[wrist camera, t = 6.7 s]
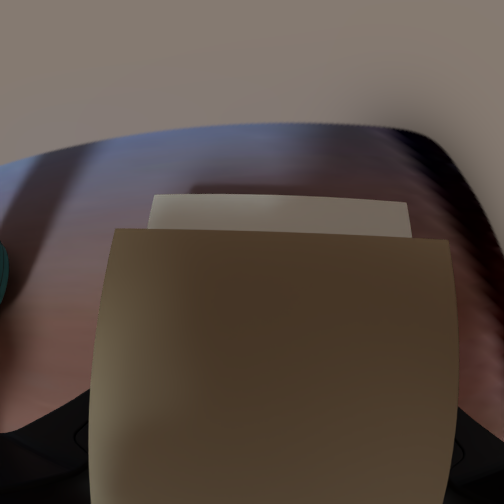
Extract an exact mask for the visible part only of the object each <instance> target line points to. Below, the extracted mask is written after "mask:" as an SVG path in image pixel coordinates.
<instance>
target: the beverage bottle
mask: <svg viewBox="0 0 504 504" xmlns="http://www.w3.org/2000/svg"><path fill="white" fill-rule="evenodd" d="M8 274H9V261H8V255H7V252H6V249H5V247H4V246H3V245H2V243H1V241H0V304H1V301H2V299H3V296H4V294H5V290H6V286H7V281H8Z"/></svg>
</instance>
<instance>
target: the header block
mask: <svg viewBox="0 0 504 504" xmlns="http://www.w3.org/2000/svg"><path fill="white" fill-rule="evenodd" d="M147 229H190V230H233V231H268V232H297V233H323V234H347V235H368V236H388V237H407V238H412V233H411V226H410V220H409V214H408V208H407V203H406V202H394V201H381V200H368V199H352V198H335V197H316V196H291V195H254V194H166V195H154V199H153V204H152V208H151V213H150V217H149V222H148V227H147Z"/></svg>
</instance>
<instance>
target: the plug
mask: <svg viewBox="0 0 504 504" xmlns="http://www.w3.org/2000/svg"><path fill="white" fill-rule="evenodd" d="M458 391H459V332H458V314H457V301H456V291H455V282H454V274H453V266H452V259H451V253H450V247H449V241H448V240H441V239H424V238H407V237H388V236H368V235H347V234H323V233H297V232H268V231H233V230H190V229H115V232H114V237H113V241H112V245H111V250H110V254H109V259H108V264H107V269H106V274H105V279H104V284H103V290H102V296H101V301H100V308H99V314H98V321H97V328H96V336H95V344H94V353H93V362H92V373H91V386H90V403H89V480H90V495H91V504H443V500H444V495H445V491H446V486H447V481H448V476H449V471H450V465H451V459H452V453H453V446H454V438H455V430H456V420H457V408H458Z"/></svg>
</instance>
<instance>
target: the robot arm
mask: <svg viewBox="0 0 504 504" xmlns="http://www.w3.org/2000/svg"><path fill="white" fill-rule="evenodd" d="M89 403H90V389H88V390H87V391H85V392H84V393H82V394H81V395H79V396H78V397H76V398H75V399H73V400H71V401H70V402H68V403H66V404H65V405H63V406H61V407H59V408H58V409H56V410H54V411H52V412H50V413H49V414H47V415H45V416H43V417H41V418H39V419H37V420H36V421H34V422H32V423H30V424H28V425H26V426H24V427H22V428H20V429H18V430H15V431H12V432H8V433H0V504H91V495H90V480H89ZM443 504H504V442H503V441H501V440H500V439H499V438H497V437H496V436H495V435H493V434H492V433H491V432H489V431H488V430H486V429H485V428H484V427H482V426H481V425H480V424H479V423H477V422H476V421H475V420H473V419H472V418H471V417H470V416H468V415H467V414H466V413H465V412H464V411H463V410H462V409H460V408H459V407H458V408H457V420H456V430H455V438H454V446H453V453H452V459H451V465H450V471H449V476H448V481H447V486H446V491H445V495H444V500H443Z"/></svg>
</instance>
